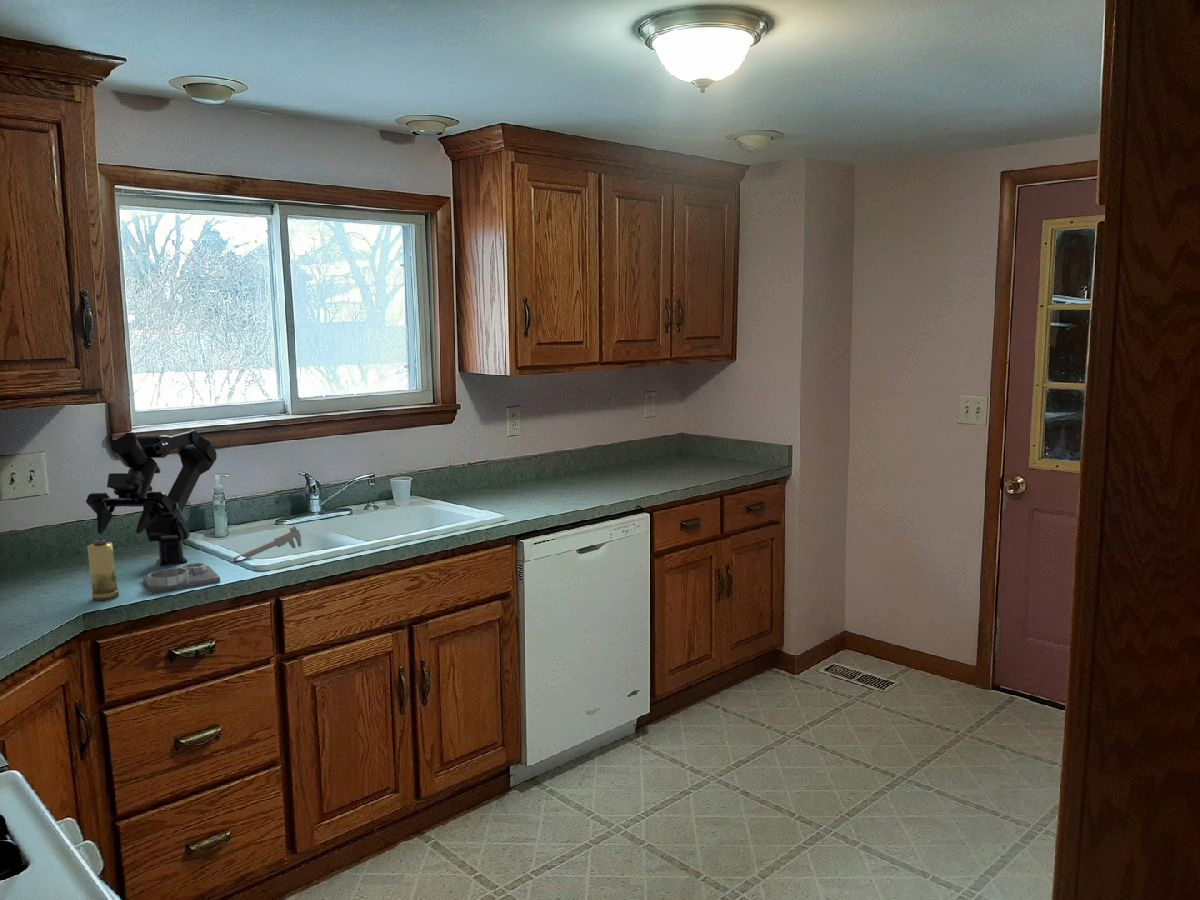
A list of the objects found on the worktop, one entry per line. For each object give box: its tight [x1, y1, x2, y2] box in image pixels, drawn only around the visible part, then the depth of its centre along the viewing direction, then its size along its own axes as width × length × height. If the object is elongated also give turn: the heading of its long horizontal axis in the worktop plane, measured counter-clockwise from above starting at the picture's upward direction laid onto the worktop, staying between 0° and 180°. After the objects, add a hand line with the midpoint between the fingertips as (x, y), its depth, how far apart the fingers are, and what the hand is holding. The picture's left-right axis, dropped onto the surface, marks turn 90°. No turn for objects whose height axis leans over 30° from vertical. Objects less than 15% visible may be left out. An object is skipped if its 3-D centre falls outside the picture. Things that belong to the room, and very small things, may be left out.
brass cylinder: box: [86, 538, 120, 602], centre depth 209 cm, size 5×5×14 cm
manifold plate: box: [142, 562, 221, 595], centre depth 221 cm, size 13×15×3 cm
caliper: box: [229, 525, 302, 564], centre depth 244 cm, size 20×1×6 cm, turn 140°
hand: (118, 533), depth 215 cm, fingers open, 9 cm apart
